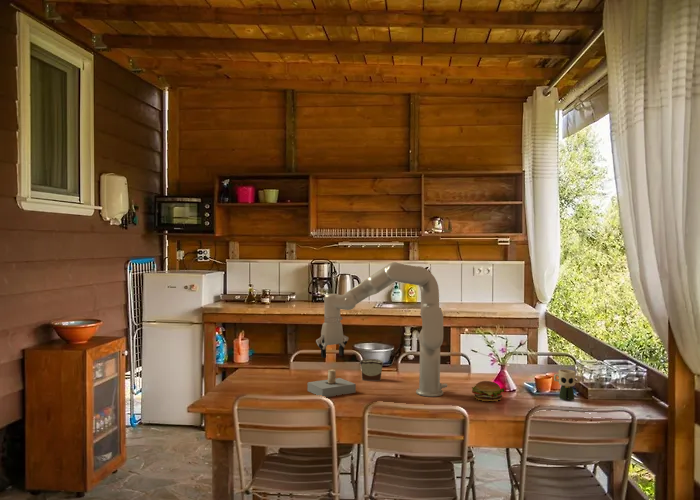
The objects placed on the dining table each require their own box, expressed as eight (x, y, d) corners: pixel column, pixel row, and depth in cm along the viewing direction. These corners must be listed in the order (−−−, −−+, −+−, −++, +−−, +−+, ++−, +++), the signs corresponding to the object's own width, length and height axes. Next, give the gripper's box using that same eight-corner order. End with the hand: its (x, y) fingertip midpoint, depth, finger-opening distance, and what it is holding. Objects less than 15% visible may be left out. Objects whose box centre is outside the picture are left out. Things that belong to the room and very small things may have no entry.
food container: (383, 378, 287) (384, 359, 287) (383, 381, 281) (383, 361, 281) (360, 377, 288) (360, 358, 288) (359, 380, 282) (359, 360, 282)
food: (465, 399, 248) (465, 381, 248) (481, 393, 258) (481, 376, 258) (493, 405, 238) (493, 387, 238) (508, 399, 249) (508, 381, 249)
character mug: (554, 400, 248) (554, 371, 248) (553, 396, 254) (553, 368, 254) (580, 402, 244) (580, 373, 244) (578, 398, 251) (579, 370, 251)
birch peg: (332, 390, 261) (333, 369, 261) (337, 392, 258) (337, 370, 258) (326, 391, 259) (326, 370, 259) (330, 393, 256) (330, 371, 256)
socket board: (339, 386, 269) (339, 377, 269) (355, 392, 257) (355, 383, 257) (307, 390, 259) (307, 382, 259) (322, 397, 248) (322, 388, 248)
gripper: (343, 318, 266) (343, 353, 266) (312, 320, 257) (312, 357, 257) (352, 319, 260) (352, 355, 260) (320, 322, 250) (320, 359, 250)
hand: (332, 356), depth 258 cm, fingers open, 9 cm apart
